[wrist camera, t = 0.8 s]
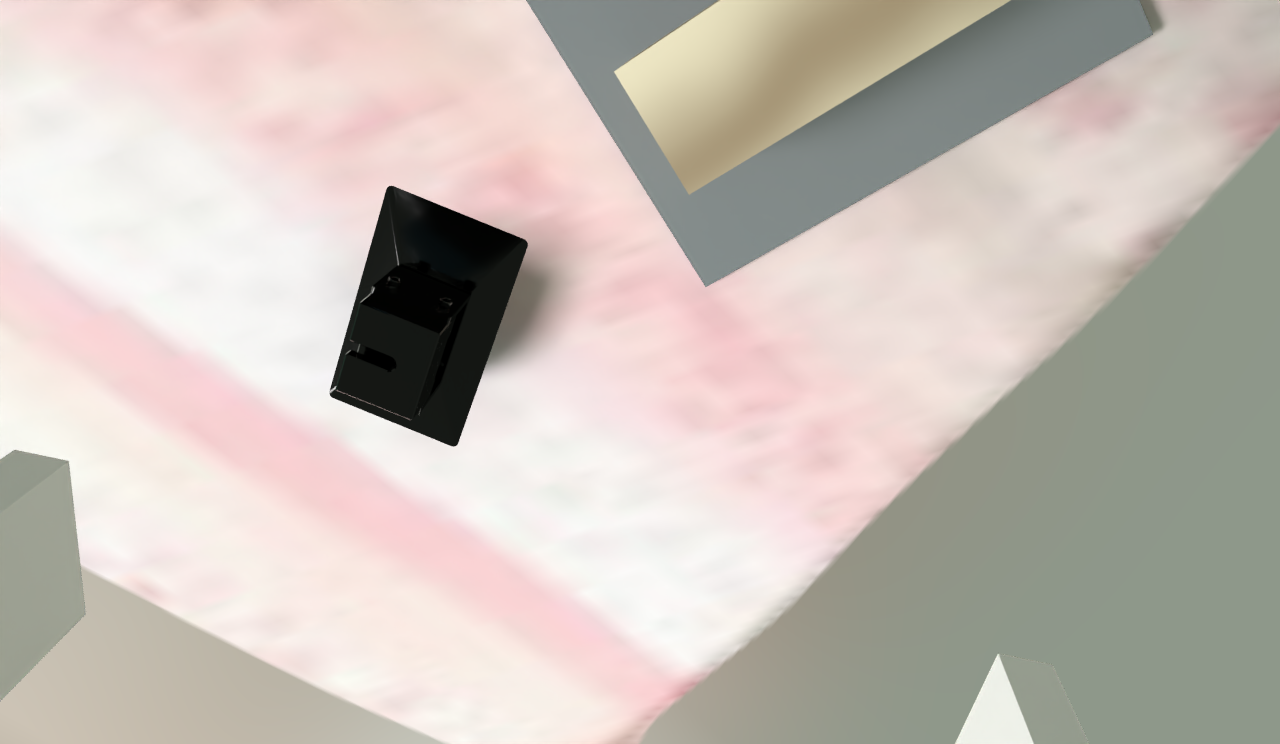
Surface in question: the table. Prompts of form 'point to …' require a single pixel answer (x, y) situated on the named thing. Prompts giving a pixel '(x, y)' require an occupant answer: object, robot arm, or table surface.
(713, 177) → the plinth
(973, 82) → the mat
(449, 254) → the black plastic holder
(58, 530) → the robot arm
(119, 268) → the table surface
